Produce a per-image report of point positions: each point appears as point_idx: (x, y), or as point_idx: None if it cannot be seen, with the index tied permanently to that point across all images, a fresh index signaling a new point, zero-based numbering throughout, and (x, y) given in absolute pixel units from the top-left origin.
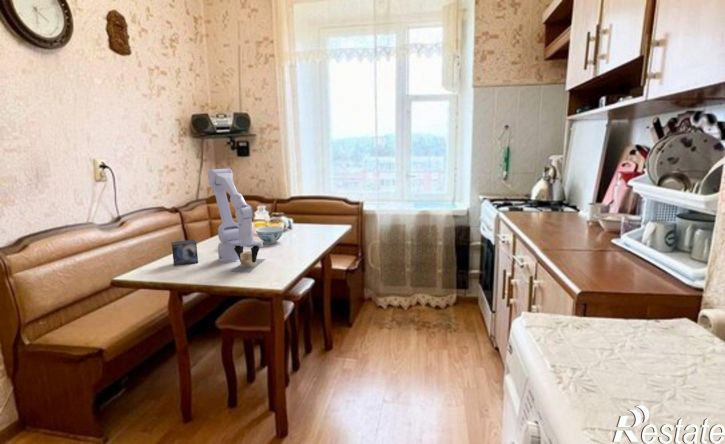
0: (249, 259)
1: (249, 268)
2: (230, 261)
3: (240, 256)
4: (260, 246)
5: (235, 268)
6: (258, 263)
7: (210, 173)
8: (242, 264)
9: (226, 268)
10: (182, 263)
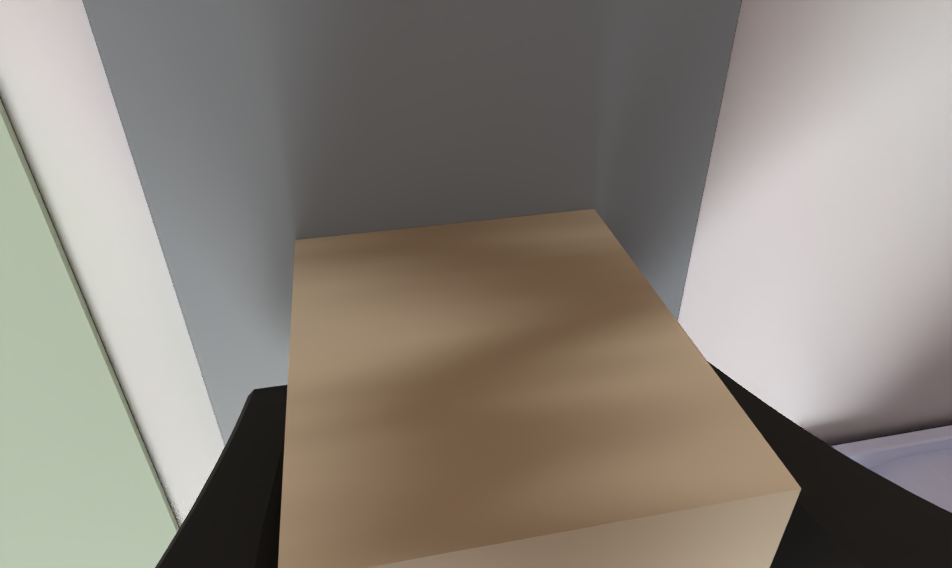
0: (352, 386)
1: (285, 119)
2: (891, 439)
3: (734, 411)
4: None
5: (705, 59)
6: None
7: None
8: (573, 247)
9: (933, 77)
10: None
